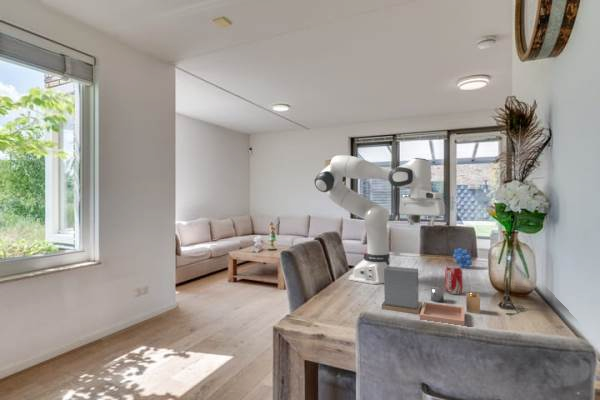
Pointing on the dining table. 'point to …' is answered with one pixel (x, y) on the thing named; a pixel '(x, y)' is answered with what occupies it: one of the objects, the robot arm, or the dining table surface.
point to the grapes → (462, 258)
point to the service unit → (401, 290)
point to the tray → (442, 313)
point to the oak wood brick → (473, 302)
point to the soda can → (453, 279)
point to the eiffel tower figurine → (509, 302)
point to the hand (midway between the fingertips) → (421, 225)
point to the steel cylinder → (437, 294)
